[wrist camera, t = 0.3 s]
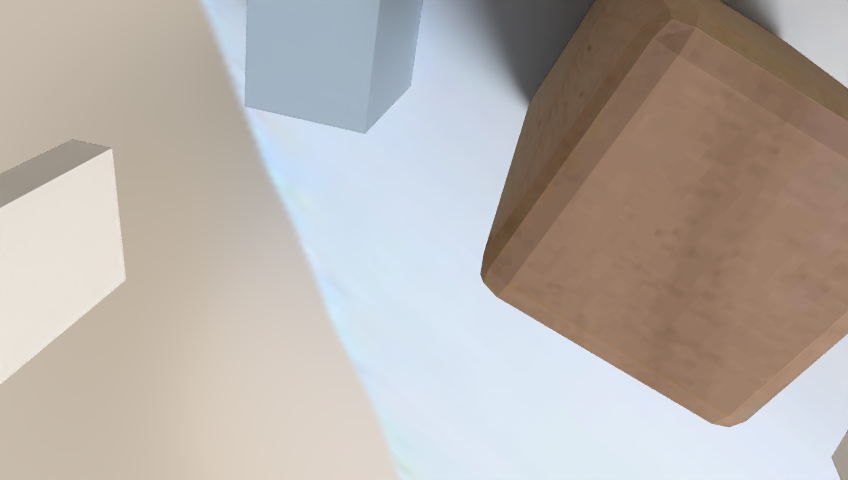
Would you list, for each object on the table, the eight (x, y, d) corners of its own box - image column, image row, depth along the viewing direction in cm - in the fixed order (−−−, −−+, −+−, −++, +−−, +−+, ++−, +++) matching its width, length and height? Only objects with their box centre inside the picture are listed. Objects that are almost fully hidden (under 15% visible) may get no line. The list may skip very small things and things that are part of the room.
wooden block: (522, 111, 38) (462, 291, 21) (629, -57, 33) (670, -4, 16) (669, 201, 38) (733, 451, 21) (797, 48, 34) (1017, 212, 16)
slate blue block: (321, -43, 37) (247, -27, 29) (426, -23, 36) (380, 0, 28) (313, 64, 40) (244, 106, 32) (410, 86, 39) (364, 133, 31)
